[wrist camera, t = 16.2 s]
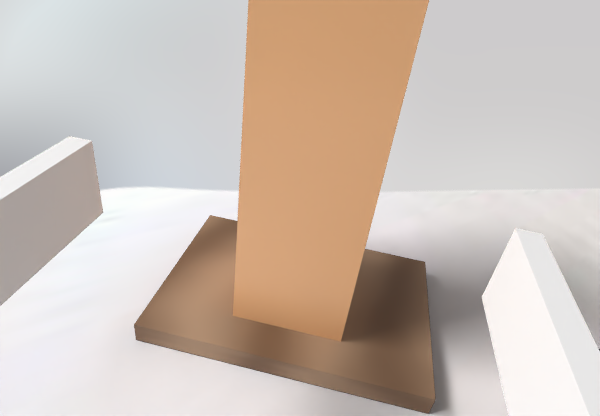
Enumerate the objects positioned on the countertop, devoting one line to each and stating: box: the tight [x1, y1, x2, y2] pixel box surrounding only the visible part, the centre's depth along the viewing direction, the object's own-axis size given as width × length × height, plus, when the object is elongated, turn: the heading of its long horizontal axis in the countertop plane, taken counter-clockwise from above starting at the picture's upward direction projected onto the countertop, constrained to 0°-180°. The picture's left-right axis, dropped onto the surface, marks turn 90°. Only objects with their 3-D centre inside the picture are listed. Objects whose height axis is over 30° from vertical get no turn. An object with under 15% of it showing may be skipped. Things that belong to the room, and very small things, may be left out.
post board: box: [134, 215, 435, 414], centre depth 25 cm, size 16×11×8 cm
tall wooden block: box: [233, 0, 429, 342], centre depth 22 cm, size 6×6×18 cm
